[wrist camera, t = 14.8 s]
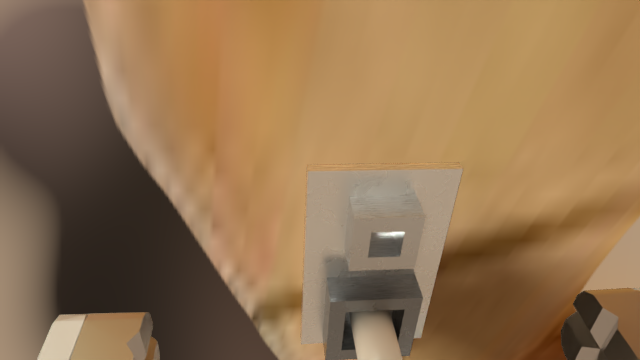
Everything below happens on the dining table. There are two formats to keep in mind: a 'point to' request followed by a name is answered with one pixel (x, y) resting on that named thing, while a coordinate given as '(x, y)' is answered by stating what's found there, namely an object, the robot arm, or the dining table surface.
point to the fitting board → (372, 247)
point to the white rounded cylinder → (374, 335)
